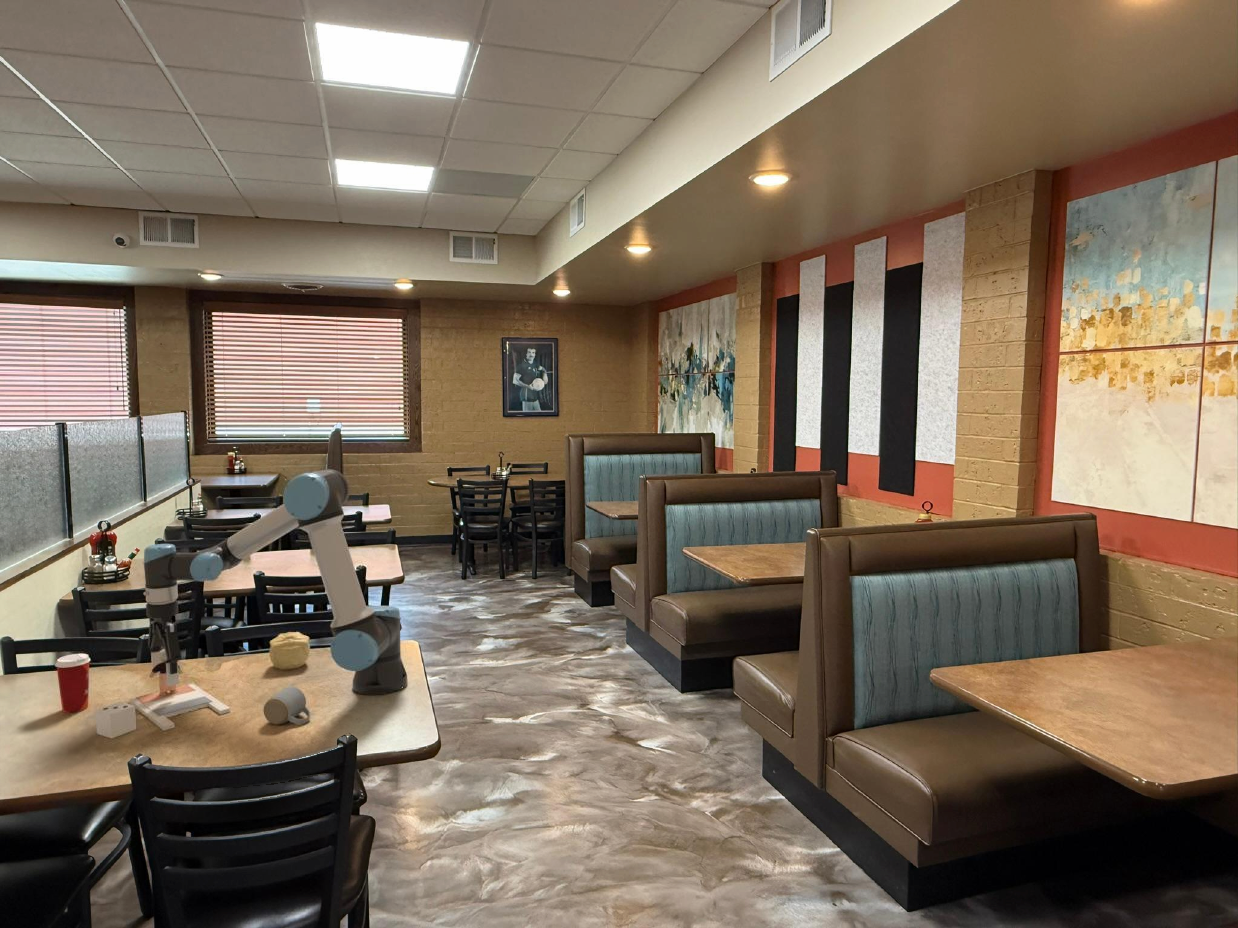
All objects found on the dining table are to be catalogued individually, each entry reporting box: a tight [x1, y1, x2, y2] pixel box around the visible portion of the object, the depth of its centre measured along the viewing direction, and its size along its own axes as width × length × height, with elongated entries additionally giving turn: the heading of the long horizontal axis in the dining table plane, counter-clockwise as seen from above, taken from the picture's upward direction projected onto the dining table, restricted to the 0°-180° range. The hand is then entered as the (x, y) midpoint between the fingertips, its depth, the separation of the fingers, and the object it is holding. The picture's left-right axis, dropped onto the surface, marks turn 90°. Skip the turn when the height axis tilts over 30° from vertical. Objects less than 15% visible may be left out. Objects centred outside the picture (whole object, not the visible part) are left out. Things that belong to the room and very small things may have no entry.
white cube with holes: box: [95, 701, 137, 739], centre depth 194 cm, size 6×6×6 cm
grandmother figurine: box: [149, 648, 183, 696], centre depth 215 cm, size 8×4×13 cm, turn 136°
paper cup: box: [54, 653, 91, 714], centre depth 207 cm, size 8×8×14 cm
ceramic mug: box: [263, 685, 311, 726], centre depth 201 cm, size 11×8×8 cm
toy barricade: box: [129, 683, 231, 731], centre depth 209 cm, size 26×16×1 cm, turn 48°
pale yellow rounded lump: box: [269, 631, 311, 670], centre depth 241 cm, size 12×12×11 cm
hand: (165, 679), depth 215 cm, fingers open, 11 cm apart
